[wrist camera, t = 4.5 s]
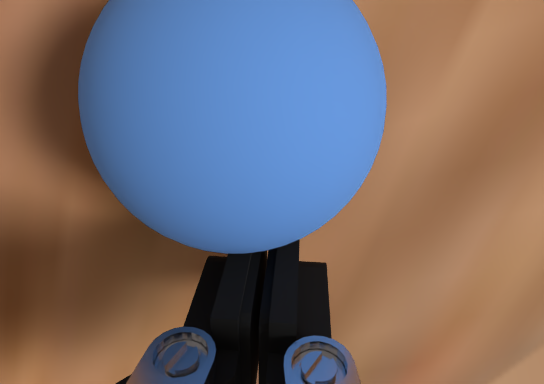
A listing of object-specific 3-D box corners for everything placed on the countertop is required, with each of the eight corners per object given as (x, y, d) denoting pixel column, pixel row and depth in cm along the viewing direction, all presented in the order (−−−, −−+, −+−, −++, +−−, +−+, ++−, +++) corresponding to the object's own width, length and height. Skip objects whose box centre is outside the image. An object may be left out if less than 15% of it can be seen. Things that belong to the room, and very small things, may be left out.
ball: (262, 283, 11) (229, 374, 5) (104, 144, 12) (-93, 84, 6) (403, 120, 11) (529, 28, 5) (241, -16, 12) (186, -247, 6)
